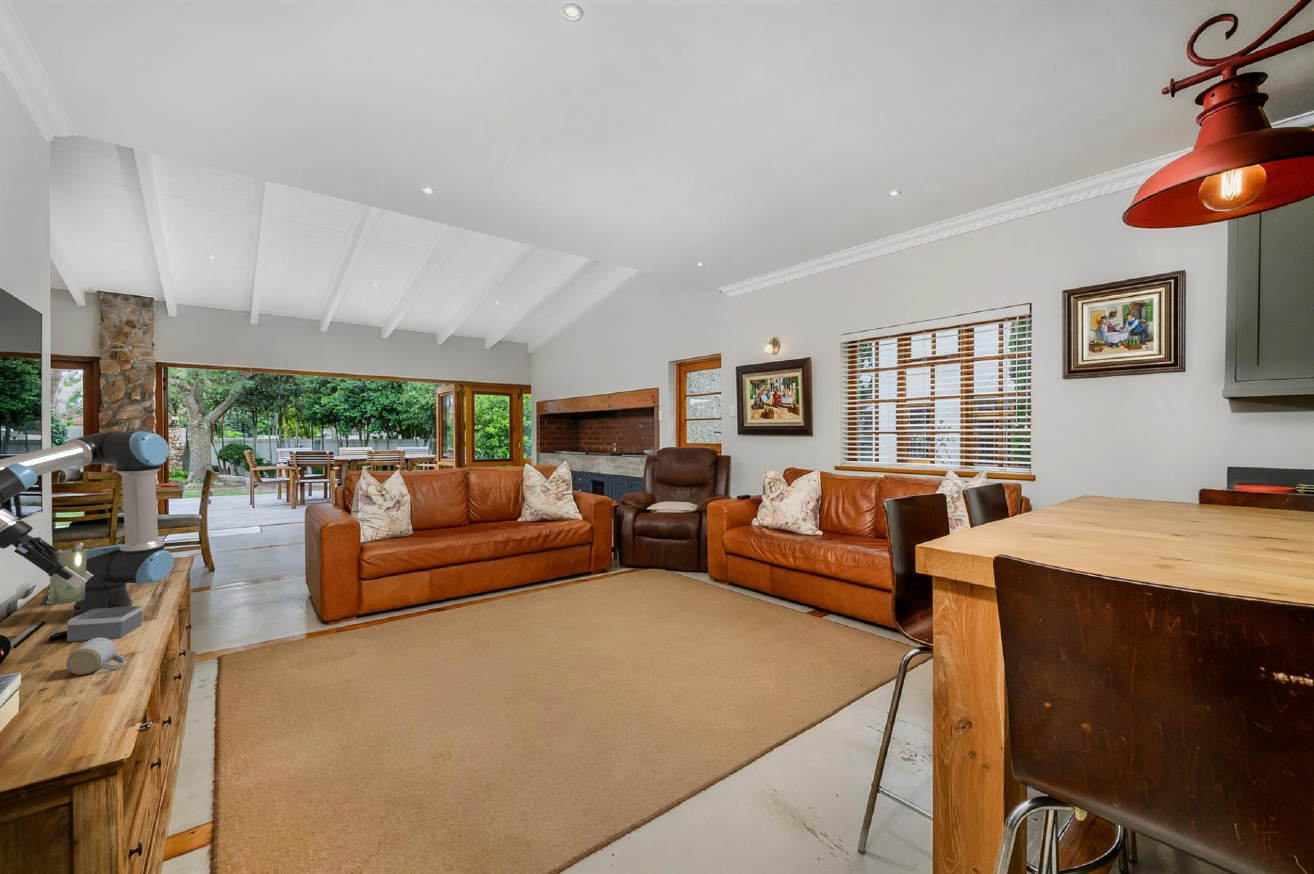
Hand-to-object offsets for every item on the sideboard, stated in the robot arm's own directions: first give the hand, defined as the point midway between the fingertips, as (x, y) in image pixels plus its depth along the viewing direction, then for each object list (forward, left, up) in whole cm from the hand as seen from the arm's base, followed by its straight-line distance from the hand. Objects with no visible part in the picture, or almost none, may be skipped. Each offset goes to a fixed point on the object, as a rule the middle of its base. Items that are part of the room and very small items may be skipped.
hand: (85, 581), depth 161 cm
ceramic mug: (+16, +11, -21) cm, 28 cm away
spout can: (+1, -3, -5) cm, 6 cm away
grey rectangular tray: (-20, -2, -20) cm, 28 cm away
